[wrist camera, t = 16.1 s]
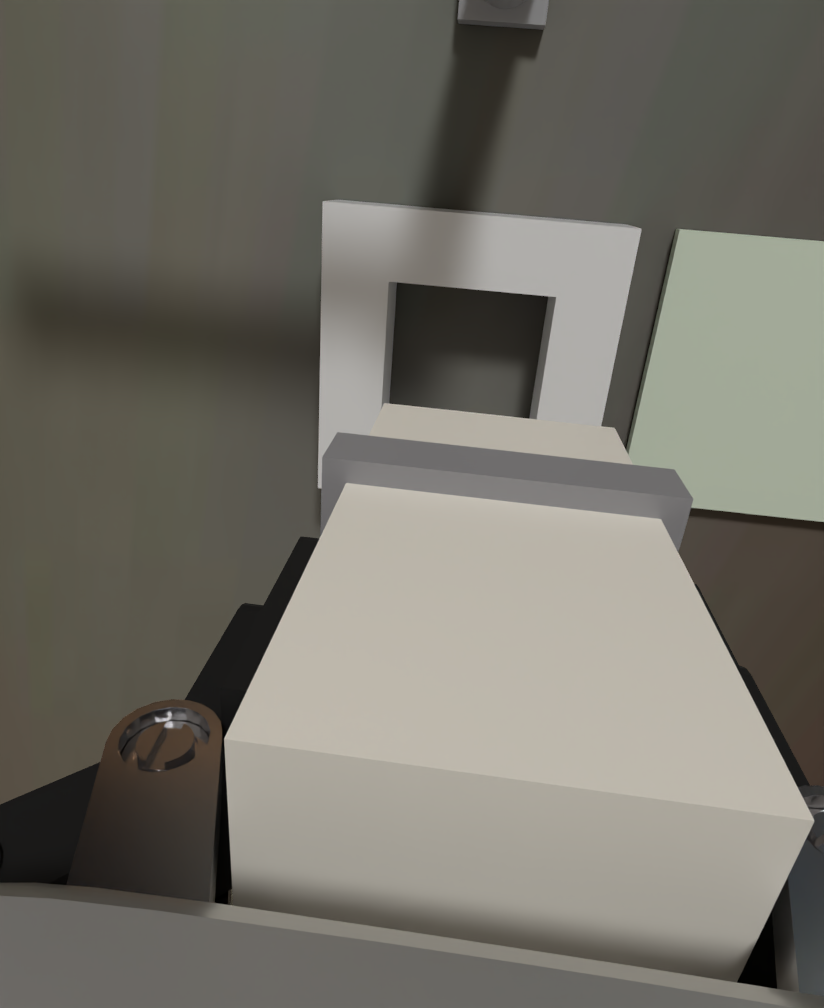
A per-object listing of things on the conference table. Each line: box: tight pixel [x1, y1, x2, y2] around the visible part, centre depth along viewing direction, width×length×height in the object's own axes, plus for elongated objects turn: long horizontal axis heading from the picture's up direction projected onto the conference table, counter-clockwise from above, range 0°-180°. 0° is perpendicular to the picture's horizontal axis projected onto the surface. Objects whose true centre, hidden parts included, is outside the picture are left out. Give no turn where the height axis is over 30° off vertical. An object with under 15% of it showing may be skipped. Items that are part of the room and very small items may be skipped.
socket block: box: [318, 0, 641, 488], centre depth 23 cm, size 12×22×12 cm, turn 176°
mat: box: [626, 229, 824, 522], centre depth 30 cm, size 12×12×1 cm
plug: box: [224, 403, 814, 982], centre depth 11 cm, size 6×6×10 cm
